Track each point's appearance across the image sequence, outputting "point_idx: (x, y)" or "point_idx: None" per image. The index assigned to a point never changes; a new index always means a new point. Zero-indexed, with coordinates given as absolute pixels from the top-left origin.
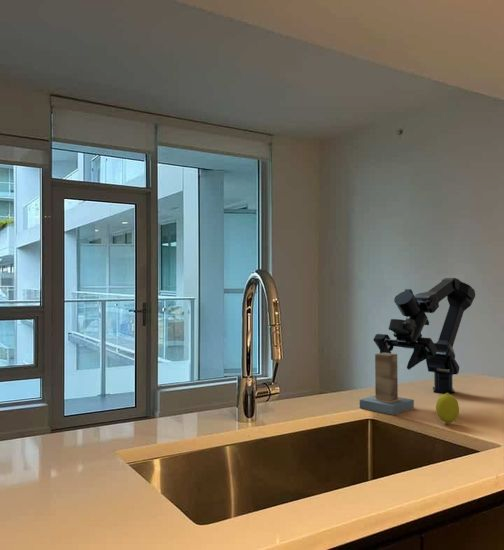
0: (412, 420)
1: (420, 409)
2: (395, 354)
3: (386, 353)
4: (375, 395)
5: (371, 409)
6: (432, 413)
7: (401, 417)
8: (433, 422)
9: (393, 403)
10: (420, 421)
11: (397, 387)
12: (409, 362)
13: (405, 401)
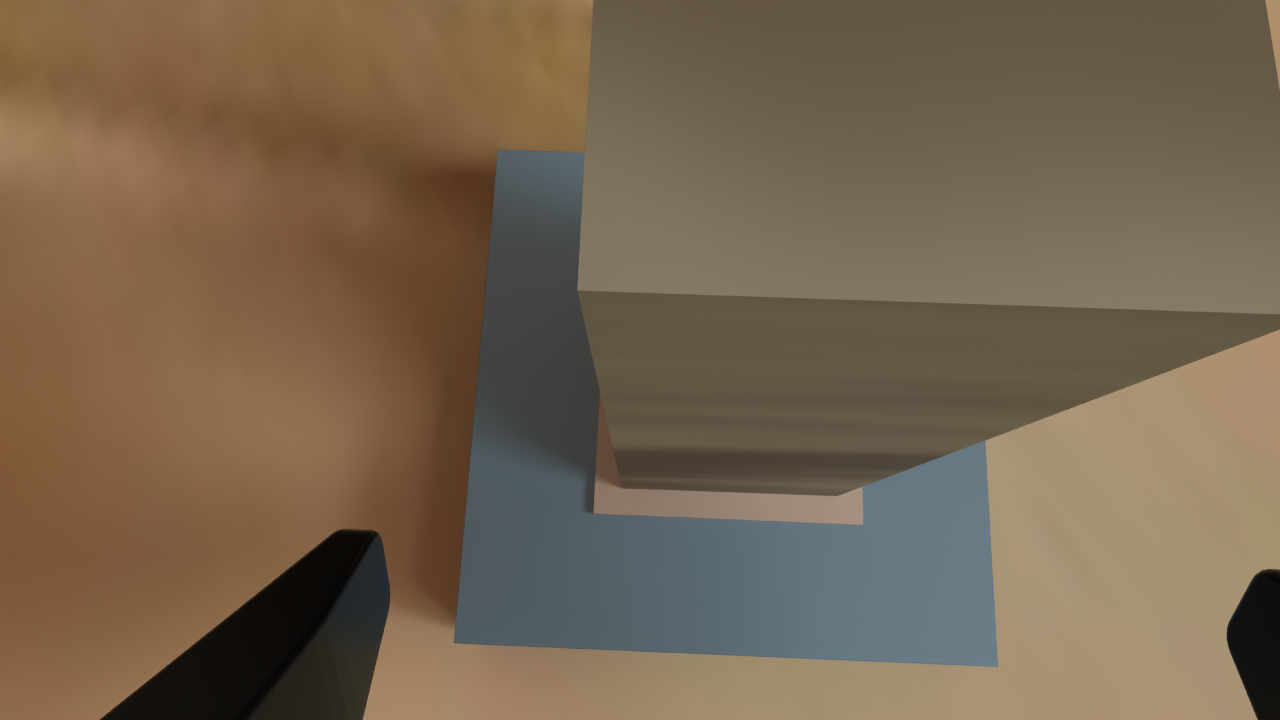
0: (269, 144)
1: (387, 633)
2: (586, 154)
3: (1027, 131)
4: (982, 509)
5: None
6: (202, 549)
7: (402, 170)
8: (75, 213)
9: (558, 268)
10: (192, 163)
11: (619, 469)
12: (268, 626)
13: (494, 467)
